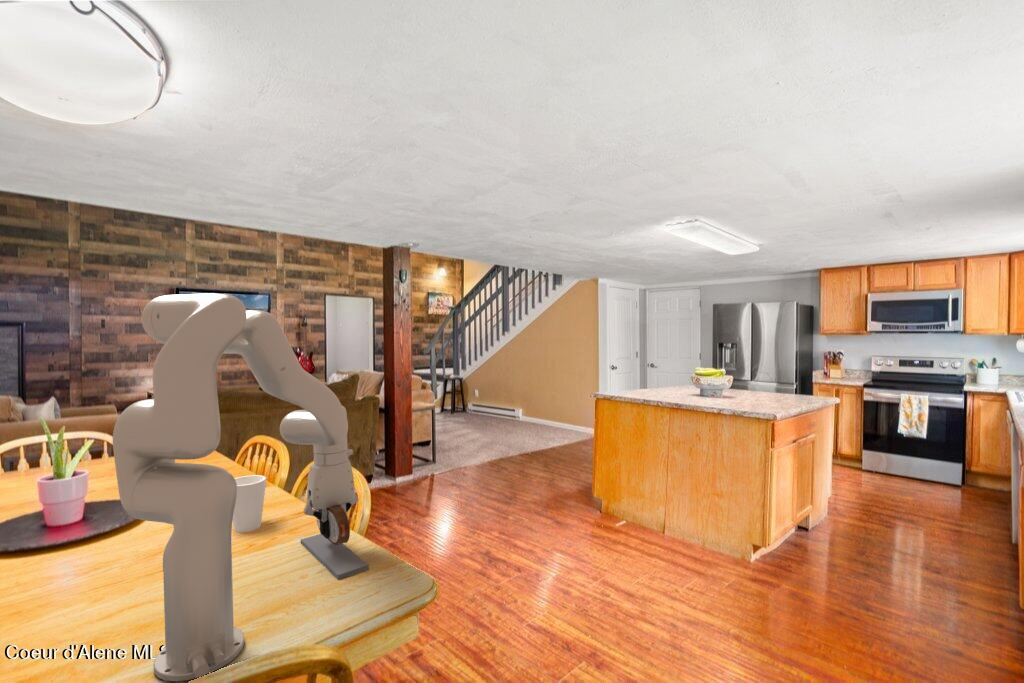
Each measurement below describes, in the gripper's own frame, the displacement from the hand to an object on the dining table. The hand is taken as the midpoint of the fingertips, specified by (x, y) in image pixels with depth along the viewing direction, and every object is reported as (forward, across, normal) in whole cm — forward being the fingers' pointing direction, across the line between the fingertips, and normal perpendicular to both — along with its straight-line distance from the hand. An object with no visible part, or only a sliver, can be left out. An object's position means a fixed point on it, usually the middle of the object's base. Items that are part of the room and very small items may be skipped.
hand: (332, 533), depth 117 cm
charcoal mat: (+5, 0, 0) cm, 5 cm away
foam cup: (+5, +11, -32) cm, 34 cm away
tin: (+1, 0, 0) cm, 1 cm away
